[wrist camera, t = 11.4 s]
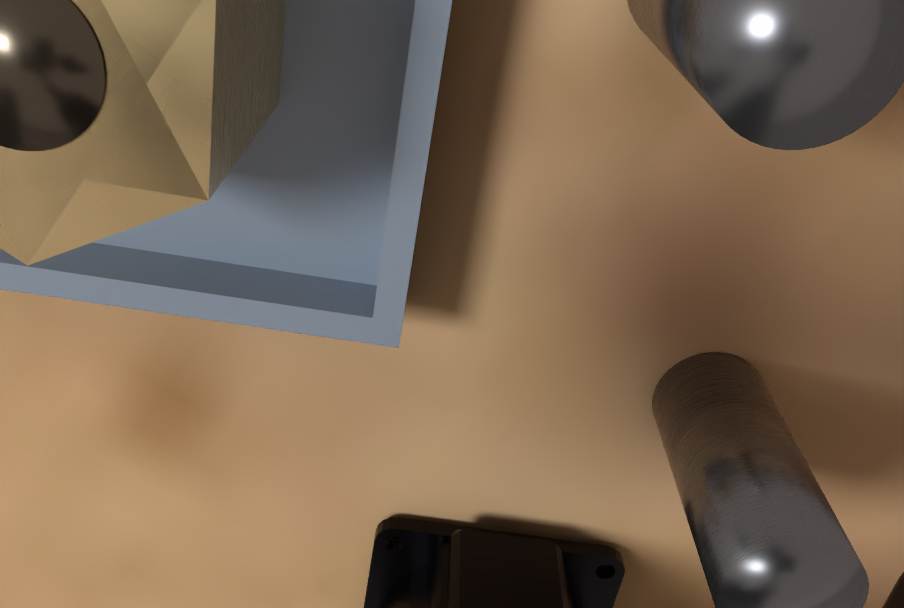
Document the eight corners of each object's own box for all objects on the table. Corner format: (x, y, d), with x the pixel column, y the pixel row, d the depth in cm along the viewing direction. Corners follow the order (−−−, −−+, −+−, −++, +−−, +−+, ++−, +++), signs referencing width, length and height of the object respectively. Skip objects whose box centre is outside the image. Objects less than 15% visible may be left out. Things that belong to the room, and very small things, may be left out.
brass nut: (273, 177, 17) (204, 295, 13) (9, 133, 17) (-158, 238, 12) (298, -159, 14) (220, -158, 10) (-20, -220, 14) (-247, -248, 10)
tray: (405, 301, 19) (398, 347, 17) (-110, 223, 18) (-171, 263, 17) (497, -302, 14) (502, -322, 12) (-219, -441, 13) (-326, -484, 11)
